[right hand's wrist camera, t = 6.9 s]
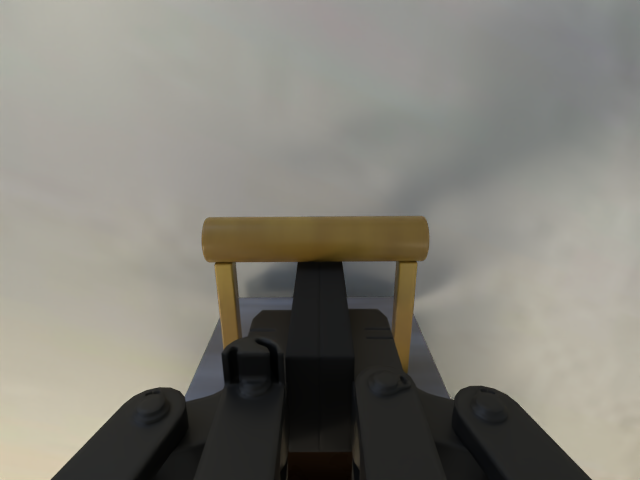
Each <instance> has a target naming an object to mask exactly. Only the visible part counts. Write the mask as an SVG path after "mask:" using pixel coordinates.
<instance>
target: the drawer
mask: <svg viewBox="0 0 640 480" xmlns="http://www.w3.org/2000/svg"><path fill="white" fill-rule="evenodd" d="M202 250H203V255H204V258H205V260H206V261H207V262H216V263H215V265H214V266H215V275H216V284H217V294H218V303H219V312H220V319H219V321H218V323H217V325H216V328H215V330H214V332H213V334H212V337H211V339H210V341H209V343H208V346H207V348H206V350H205V352H204V355H203V357H202V359H201V361H200V364H199V366H198V368H197V370H196V373H195V375H194V377H193V379H192V382H191V384H190V386H189V388H188V391H187V393H186V395H185V400H186V401H190V400H194V399H199V398H203V397H206V396H209V395H212V394H215V393H217V392H219V391H221V390H222V389H223V388H224V375H223V365H222V356H221V353H222V351H223V350H224V349H225V347H226V346H227V345H229V344H230V343H232V342H233V341H235V340H237V339H240V338H243V337H247V336H248V333H249V332H250V327H251V323H252V320H253V318H254V317H255V316H256V315H257V314H259V313H260V312H261V311H262V310H292V303H293V297H252V298H239V295H238V284H237V272H236V262H349V261H396V272H395V287H394V297H347V303H348V309H379V310H380V311H381V312H382V313H383V314H384V315H385V316H386V317H387V318H388V322H389V325H390V330H391V332H392V335H393V339H394V341H395V345H396V348H397V351H398V355H399V358H400V361H401V364H402V368H403V371H404V372H405V373H407V374H408V375H409V376H411V378H412V380H413V381H414V383H415V384H416V387H417V388H419V389H421V390H423V391H425V392H427V393H429V394H433V395H436V396H440V397H444V398H448V399H450V397H449V394H448V392H447V390H446V387H445V385H444V383H443V381H442V378H441V376H440V374H439V371H438V369H437V367H436V365H435V362H434V360H433V358H432V355H431V353H430V351H429V348H428V346H427V344H426V342H425V339H424V337H423V335H422V332H421V330H420V328H419V326H418V323H417V321H416V319H415V316H414V314H413V308H414V296H415V285H416V274H417V262H416V261H423V260H425V259H426V257H427V254H428V250H429V228H428V224H427V221H426V218H425V217H423V216H337V217H209V218H207V219H206V220H205V222H204V224H203V229H202ZM352 456H353V455H352V447H351V452H289V447H288V480H352Z"/></svg>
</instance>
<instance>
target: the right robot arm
mask: <svg viewBox="0 0 640 480" xmlns="http://www.w3.org/2000/svg"><path fill="white" fill-rule="evenodd" d="M221 356H222V365H223V375H224V388H223V389H222V390H221V391H219V392H217V393H215V394H212V395H209V396H206V397H203V398H199V399H194V400H190V401H186V400H185V397H184V396H183V395H182V393H181V392H180V391H178V390H175V389H173V388H161V387H159V388H154V389H150V390H146V391H144V392H142V393H140V394H137V395H135V396H133V397H132V398H131V399H130V400H128V401H127V402H126V403H125V404H123V405H122V406H121V407H120V409H119V410H118V411H117V412H116V413H115V414H114V415H113V416H112V417H111V418H110V419H109V420H108V421H107V422H106V423H105V424H104V425H103V426H102V427H101V428H100V429H99V430H98V431H97V432H96V433H95V434H94V435H93V436H92V438H91V439H90V440H89V441H88V442H87V443H86V444H85V445H84V446H83V447H82V448H81V449H80V450H79V451H78V452H77V453H76V454H75V455H74V456H73V457H72V458H71V459H70V460H69V461H68V462H67V463H66V464H65V465H64V466H63V468H62V469H61V470H60V471H59V472H58V473H57V474H56V475H55V476H54V477H53V478H52V479H51V480H288V447H289V452H351V447H352V455H353V456H352V480H592V479H591V478H590V477H589V476H588V475H587V474H586V473H585V472H584V471H583V470H582V469H581V468H580V467H579V466H578V465H577V464H576V463H575V462H574V461H573V460H572V459H571V458H570V457H569V456H568V455H567V454H566V453H565V452H564V451H563V450H562V449H561V448H560V447H559V445H558V444H557V443H556V442H555V441H554V440H553V439H552V438H551V437H550V436H549V435H548V434H547V433H546V432H545V431H544V430H543V429H542V428H541V427H540V426H539V425H538V424H537V423H536V422H535V421H534V420H533V419H532V418H531V417H530V416H529V415H528V414H527V413H526V412H525V411H524V409H523V408H522V407H521V406H520V405H519V404H518V403H517V402H515V401H514V400H513V399H512V398H510V397H509V396H508V395H506V394H504V393H502V392H500V391H498V390H496V389H493V388H489V387H484V386H469V387H466V388H463V389H461V390H460V391H459V392H458V393H457V394H456V396H455V400H452V399H448V398H444V397H440V396H436V395H433V394H429V393H427V392H425V391H423V390H421V389H419V388H417V387H416V384H415V383H414V381H413V380H412V378H411V376H409V375H408V374H407V373H405V372H404V371H403V368H402V364H401V361H400V358H399V355H398V351H397V348H396V345H395V341H394V339H393V335H392V332H391V330H390V325H389V322H388V318H387V317H386V316H385V315H384V314H383V313H382V312H381V311H380V310H379V309H348V303H347V295H346V288H345V280H344V273H343V265H342V262H298V265H297V273H296V280H295V288H294V295H293V303H292V310H262V311H261V312H260V313H259V314H257V315H256V316H255V317H254V318H253V320H252V323H251V327H250V332H249V333H248V336H247V337H243V338H240V339H237V340H235V341H233V342H232V343H230V344H229V345H227V346H226V347H225V349H224V350H223V351H222V353H221Z"/></svg>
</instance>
